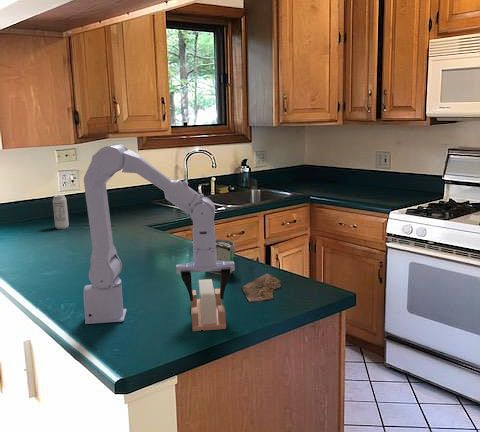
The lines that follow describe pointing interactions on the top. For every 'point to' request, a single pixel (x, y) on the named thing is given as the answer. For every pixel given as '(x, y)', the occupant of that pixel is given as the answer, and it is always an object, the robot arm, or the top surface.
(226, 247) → the food container
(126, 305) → the top surface
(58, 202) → the energy drink can
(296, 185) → the top surface
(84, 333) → the top surface
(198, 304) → the rack
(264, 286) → the wooden fragment
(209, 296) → the strip
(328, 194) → the top surface
